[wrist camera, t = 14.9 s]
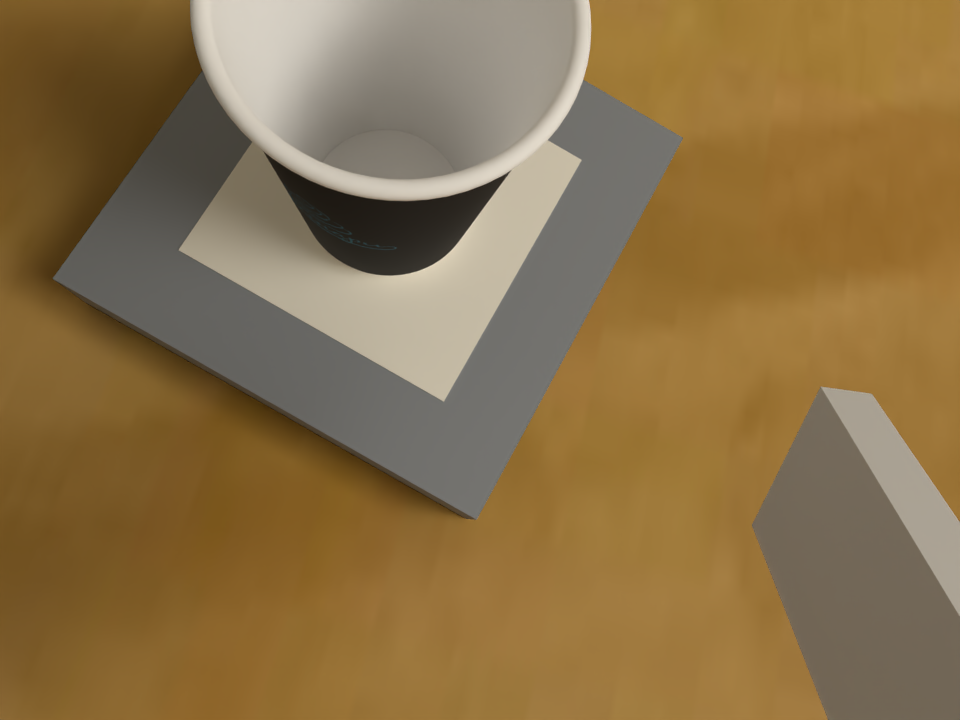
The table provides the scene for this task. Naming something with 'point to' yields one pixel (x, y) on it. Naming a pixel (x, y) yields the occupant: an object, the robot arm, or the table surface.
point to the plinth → (373, 289)
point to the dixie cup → (393, 108)
